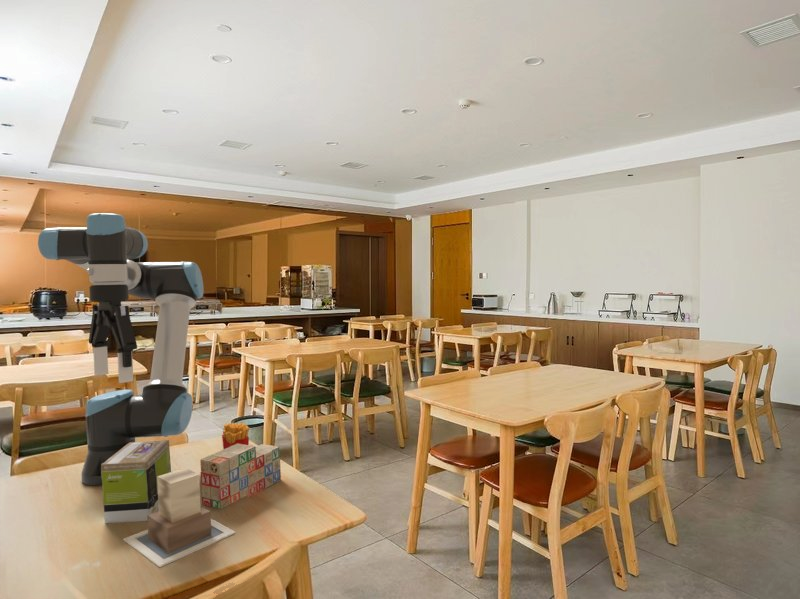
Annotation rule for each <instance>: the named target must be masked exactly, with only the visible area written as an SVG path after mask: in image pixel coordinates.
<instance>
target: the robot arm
mask: <svg viewBox="0 0 800 599" xmlns="http://www.w3.org/2000/svg"><path fill="white" fill-rule="evenodd" d="M37 238H38V242H37V246H38V251H39V252H40V255H41V256H42V257H43V258H45V259H46V260H55V261H59V260H65V261H67V262H69V263H72V264H74V265H76V266H77V267H80V268H82V269H83V270H85V271H86V273H87V274H88V276H89V279H88V280H89V282H90V283H92V285H90V286H89V287H88V288H89V301H90V302H92V303H98V304H92V311H91V313H92V315H91V321H90V322H91V324H90V330H89V336H88V343H89V345H91V346H92V351H93V370H94V376H95V377H98V376H103V375H109V360H108V356H109V355H108V346H109V343H108V341H107V340H108V337H109V333H110V331H111V332H112V336H114V340H115V342H116V345H117V349H116V351H115V353H116V354H117V373H118V384H122V383H130V382H134V364H133V363H134V362H133V352H134V351H135V350H137V349H138V344H137V339H136V336H135V332H134V329H133V325H132V320H131V316H130V307H129V305H122V302H127V301H129V295H130V296H132V297H135V298H140V299H144V300H154V301H155V303H156V304H157V305H158V306H159V310H158V311H159V312H158V317H157V318H158V319H157V325H156V327H157V328H156V332H155V333H156V334H155V341H154V349H153V357H152V363H151V370H150V376H149V377H150V378H149V379H150V380H149V382H148V383H146V384H145V385H144V386H143V387H142V394H139V395H134V394H135V393H134V390H133V389H129V388H127V389H119V390H115V391H109V392H105V393H102V394H99V395H95V396H93V397H92V398H90V399H88V400H87V402H86V404H85V415H84V417H85V424H86V427H85V428H86V439H87V440H86V441H87V444H86V445H87V454H86V457H85V460H84V464H83V467H82V470H81V482H82V484H84V485H87V486H95V487H96V486H97V487H98V486H102V475H101V464H103V463H104V462H105V461H107V460H108V459H109V458H110V457H112V456H113V455H114V454H115V453H117V452H118V451H119V450H121V449H122V448H123V447H124V446H126V445H127V444H128V443H130V442H136V439H137V438H153V437H154V438H155V437H156V438H157V437H169V436H179V435H181V434H183V433H184V432H185V431H186V429H187V428H188V426H189V424H190V421H191V418H192V413H193V402H194V401H193V397H192V395H191V393H189V392H188V387H186V385H184V383H183V379H184V378H183V377H184V370H185V369H184V368H185V361H186V360H185V359H186V350H187V339H188V332H189V330H188V329H189V322H190V313H191V312H190V311H191V309H193V308H194V307H196V303H197V300H199V299H201V298H203V297H204V290H205V289H204V281H203V275H202V271H201V269H200V267H199V265H198V264H197V263H195V262H193V261H183V260H182V261H160V262H159V261H146V262H142V261H141V262H140V261H139V262H135V261H134V260H135V259H139V258H141V257H142V256H144V255H145V254H146V252H147V250H148V247H149V242H148V239H147V237H146V235H145V234H144V233H143V232H142V231H140V230H138V229H136V228H133V227H128V226H127V224H126V220H125V216H123V215H122V214H117V213H107V212H106V213H105V212H102V213H101V212H99V213H98V212H97V213H91V214H89V215H88V216H87V217H86V226H85V227H60V226H58V227H47V228H44V229H42V230H41V232H39V234H38V237H37Z"/></svg>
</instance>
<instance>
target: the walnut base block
mask: <svg viewBox="0 0 800 599" xmlns="http://www.w3.org/2000/svg"><path fill="white" fill-rule="evenodd" d="M200 508H201V512H199V513H197V514H194V515H191V516H189V517H186V518H184V519H181V520H179V521H176V522H173V523H172V522H170V521H169V520H167V519H166V518H164V517H162V516H161V515H159V510H158V511H157V512H154V513H152V514H149V515H147V520H148V521H147V529H148V539H150V540H151V541H152V542H154V543H155V544H157V545H158V546H160V547H161V548H162V549H164V550H165V551H167V552H168V553H171V552H173V551H175V550H177V549H180V548H182V547H184V546H187V545H189V544H191V543H194V542H196V541H198V540H200V539H203V538H205V537H207V536H210V535H211V519H212V517H211V510H208V509H207V508H206V507H204V506H201V505H200Z"/></svg>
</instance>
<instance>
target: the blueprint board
mask: <svg viewBox="0 0 800 599" xmlns="http://www.w3.org/2000/svg"><path fill="white" fill-rule="evenodd" d="M234 535H236V531H234V530H233V529H231V528H230V527H227V526H225V525H223V524H222V523H220V522H218V520H215V519H214V518H211V535H210V536H207V537H205V538H203V539H200V540H198V541H196V542H194V543H191V544H189V545H187V546H184V547H182V548H180V549H177V550H175V551H173V552H171V553H168V552H167V551H165V550H164V549H162V548H161V547H160V546H158V545H157V544H155V543H154V542H152V541H151V540H150V539H148V528H147V529H145V530H142V531H140V532H138V533H135V534H132V535H130V536H127V537H124V538H123V541H124V542H125V543H126V544H128V545H129V546H130V547H132V549H134V550H135V551H137V552H138V553H139V554H141V555H142V557H145V558H146V559H147V560H149V561H150V562H151V563H153V564H154V565H155V566H157V567H158V568H159V569H160V568H162V567H165V566H167V565H169V564H171V563H174V562H175V561H177V560H180V559H182V558H185V557H187V556H189V555H191V554H194V553H195V552H197V551H200V550H201V549H202V550H203V549H205V548H207V547H209V546H211V545H213V544H215V543H218V542H220V541H221V540H224V539H226V538H229V537H231V536H234Z"/></svg>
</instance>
